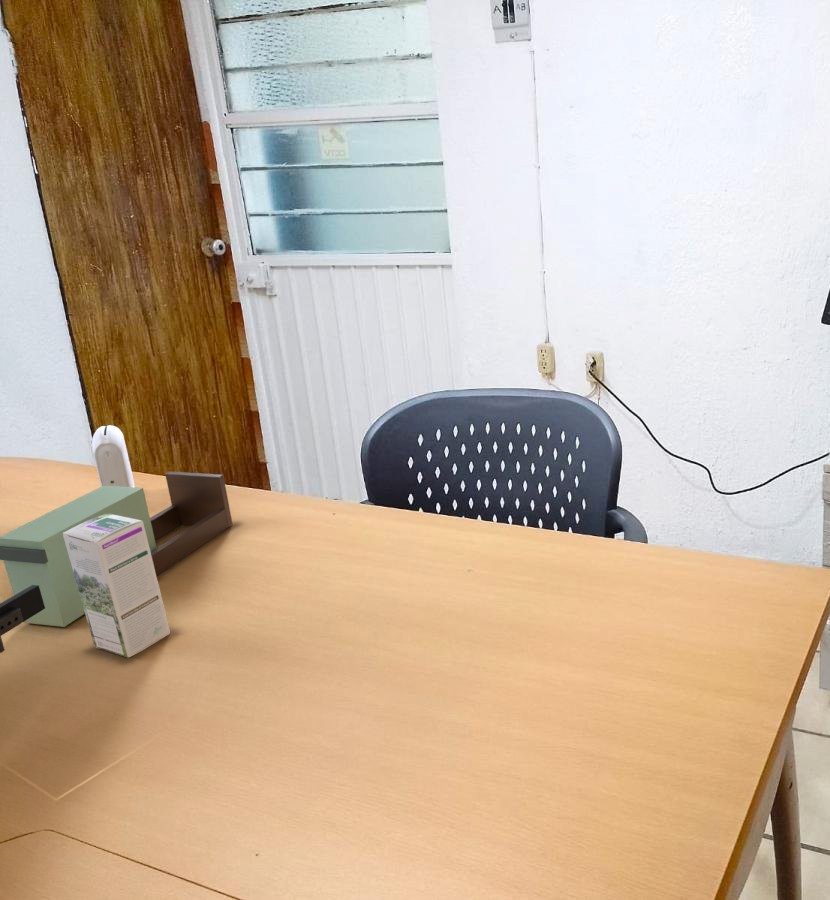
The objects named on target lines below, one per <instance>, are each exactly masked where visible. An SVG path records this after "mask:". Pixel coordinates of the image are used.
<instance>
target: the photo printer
mask: <svg viewBox="0 0 830 900" xmlns="http://www.w3.org/2000/svg"><path fill="white" fill-rule="evenodd" d="M91 451H92V456H93V460H94V463H95V468H96V472H97V476H98V480H99V484H100V487H102V486H119V487H134V488H136V485H135V479H134V475H133V471H132V467H131V463H130V458H129V454H128V449H127V446H126V441H125V437H124V433H123V432H122V431H121V429H120V428H119V427H117V426H115V425H111V424H108V425H107V426H106V425H102V426H100V427H98V428H97V429H96V430H95V432H94V433H93V436H92V440H91Z"/></svg>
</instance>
